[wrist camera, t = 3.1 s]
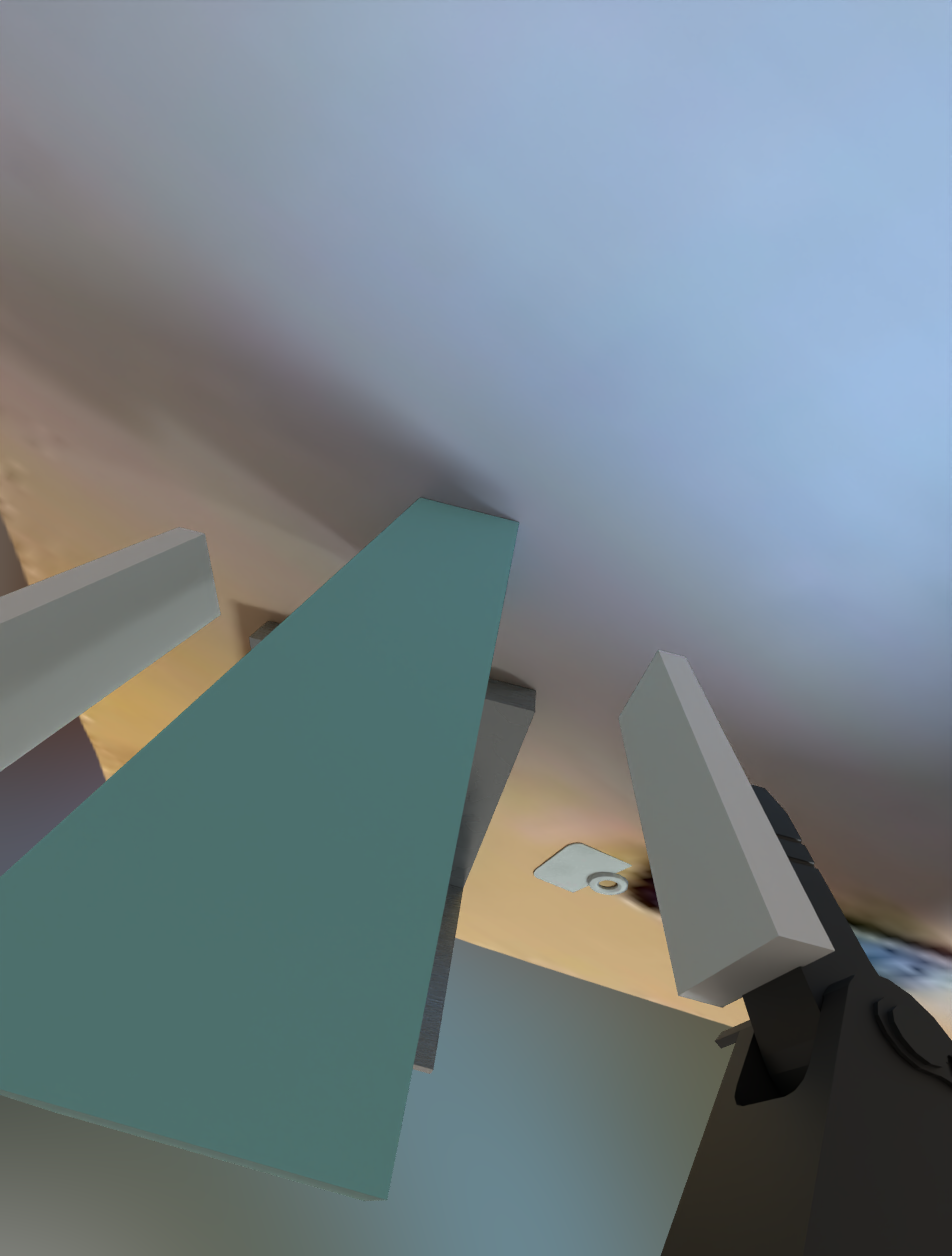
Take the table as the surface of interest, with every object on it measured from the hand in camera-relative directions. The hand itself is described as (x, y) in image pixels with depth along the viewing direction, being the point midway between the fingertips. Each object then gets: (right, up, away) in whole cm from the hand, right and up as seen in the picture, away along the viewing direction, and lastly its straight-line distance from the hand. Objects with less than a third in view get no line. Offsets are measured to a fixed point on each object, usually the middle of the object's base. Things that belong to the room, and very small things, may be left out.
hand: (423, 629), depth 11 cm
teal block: (+1, +3, +5) cm, 6 cm away
